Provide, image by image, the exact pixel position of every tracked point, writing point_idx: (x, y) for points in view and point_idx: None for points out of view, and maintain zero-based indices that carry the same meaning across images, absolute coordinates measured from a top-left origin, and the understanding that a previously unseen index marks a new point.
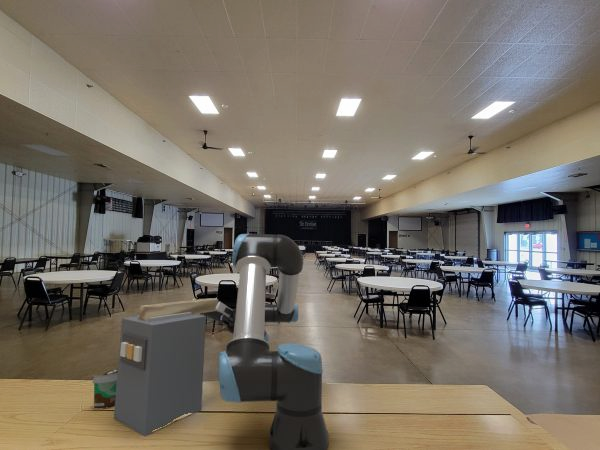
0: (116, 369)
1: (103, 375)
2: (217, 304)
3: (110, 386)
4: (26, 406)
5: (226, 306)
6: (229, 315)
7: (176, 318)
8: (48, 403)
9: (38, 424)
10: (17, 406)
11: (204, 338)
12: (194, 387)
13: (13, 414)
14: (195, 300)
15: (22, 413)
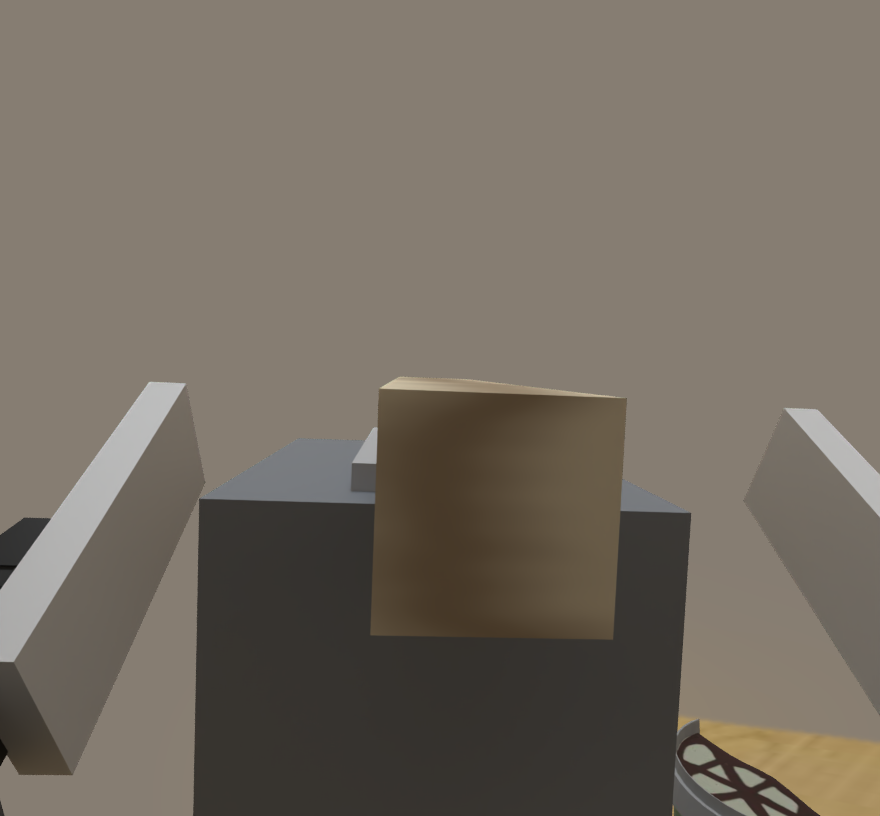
0: (810, 813)
1: (678, 733)
2: (192, 426)
3: (674, 808)
4: (841, 766)
5: (72, 500)
6: (11, 753)
7: (343, 464)
8: (847, 803)
9: None
10: (852, 754)
11: (197, 702)
12: None
13: (777, 739)
14: (486, 385)
15: (774, 750)
